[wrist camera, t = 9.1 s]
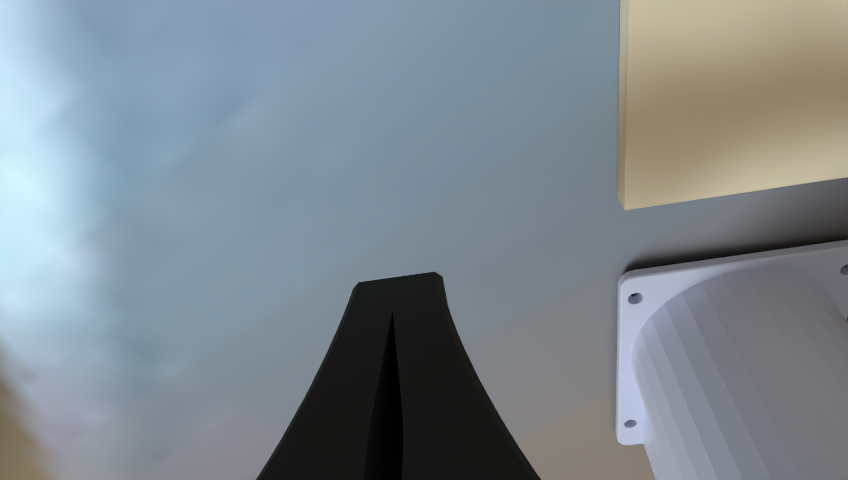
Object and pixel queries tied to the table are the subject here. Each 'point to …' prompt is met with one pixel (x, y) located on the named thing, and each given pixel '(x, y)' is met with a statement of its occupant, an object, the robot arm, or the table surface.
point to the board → (730, 97)
